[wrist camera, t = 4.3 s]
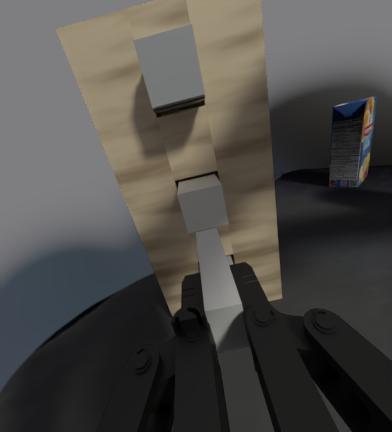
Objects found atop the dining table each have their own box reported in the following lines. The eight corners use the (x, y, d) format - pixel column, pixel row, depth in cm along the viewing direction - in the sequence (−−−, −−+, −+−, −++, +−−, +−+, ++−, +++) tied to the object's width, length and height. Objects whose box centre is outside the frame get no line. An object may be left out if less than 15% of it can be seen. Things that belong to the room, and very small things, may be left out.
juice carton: (340, 175, 71) (346, 102, 62) (367, 176, 66) (377, 95, 56) (328, 187, 65) (332, 107, 55) (356, 188, 60) (366, 100, 50)
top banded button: (158, 114, 21) (143, 61, 19) (202, 103, 20) (191, 47, 18) (151, 110, 16) (130, 38, 14) (207, 95, 16) (193, 20, 14)
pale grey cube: (187, 214, 25) (178, 182, 23) (220, 206, 25) (214, 173, 23) (188, 233, 21) (177, 194, 19) (228, 223, 20) (221, 184, 19)
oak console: (176, 279, 41) (101, 64, 26) (260, 260, 41) (232, 28, 25) (174, 321, 32) (55, 29, 17) (282, 298, 31) (259, -30, 16)
